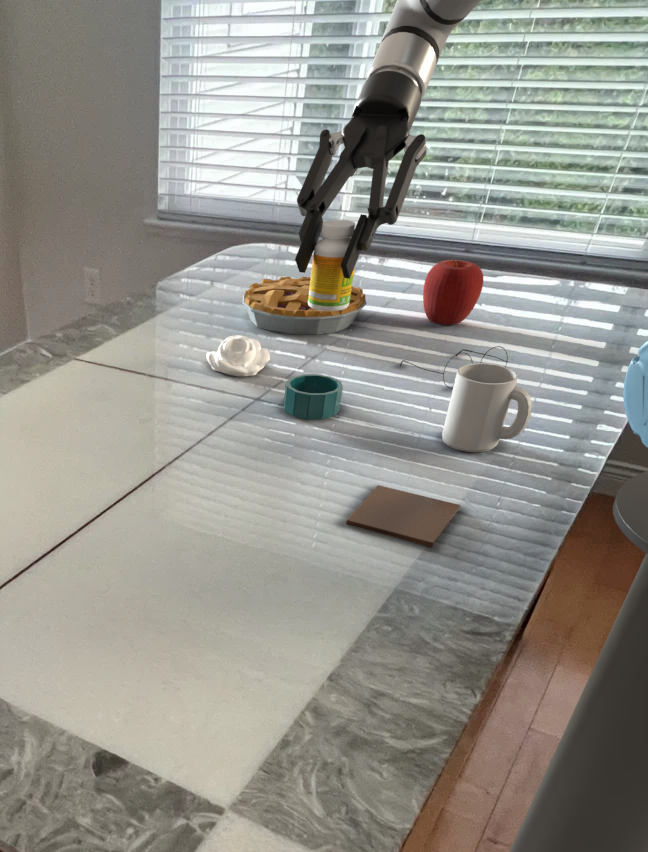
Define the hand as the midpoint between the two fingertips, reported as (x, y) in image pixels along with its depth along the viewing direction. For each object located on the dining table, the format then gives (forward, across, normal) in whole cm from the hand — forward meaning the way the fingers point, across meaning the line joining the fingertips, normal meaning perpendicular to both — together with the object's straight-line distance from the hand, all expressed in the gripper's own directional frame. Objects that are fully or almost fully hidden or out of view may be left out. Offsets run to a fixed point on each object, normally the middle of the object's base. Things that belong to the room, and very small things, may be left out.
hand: (322, 268), depth 106 cm
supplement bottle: (+1, 0, -6) cm, 7 cm away
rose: (+4, +18, -24) cm, 30 cm away
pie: (-16, +19, -43) cm, 50 cm away
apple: (-22, -4, -50) cm, 54 cm away
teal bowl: (+11, +1, -17) cm, 20 cm away
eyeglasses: (-6, -12, -33) cm, 36 cm away
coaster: (+28, -21, 0) cm, 35 cm away
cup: (+11, -23, -17) cm, 31 cm away
